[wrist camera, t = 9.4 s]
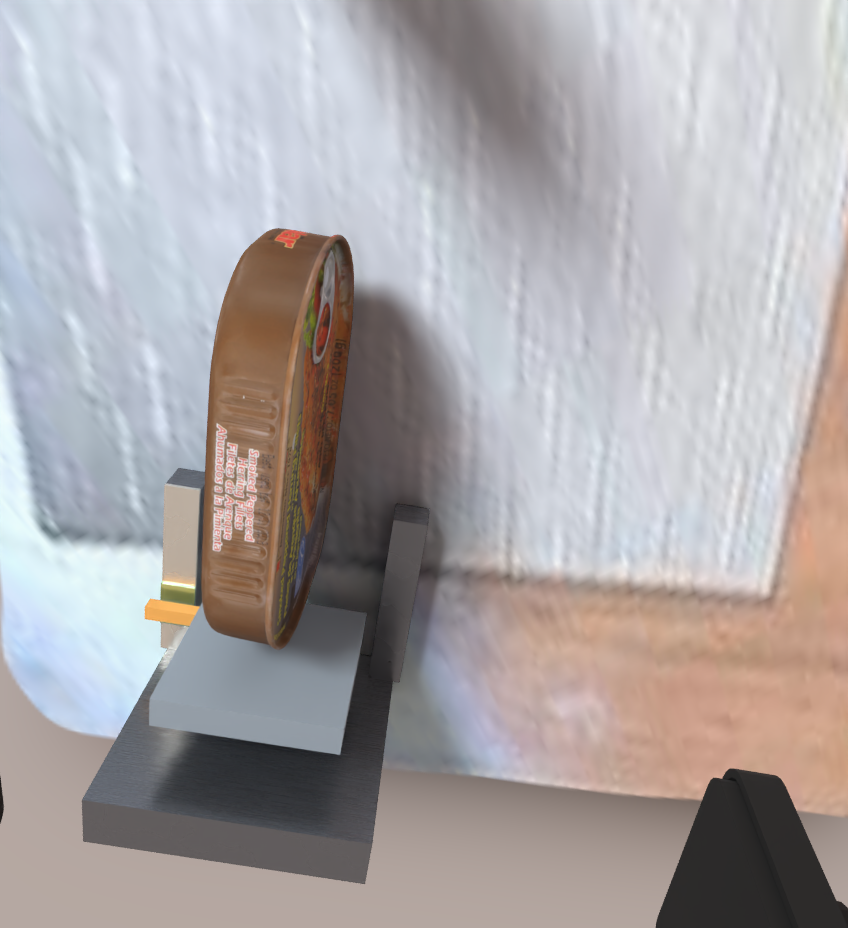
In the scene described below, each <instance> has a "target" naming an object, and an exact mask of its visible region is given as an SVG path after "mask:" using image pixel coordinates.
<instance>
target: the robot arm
mask: <svg viewBox="0 0 848 928" xmlns="http://www.w3.org/2000/svg"><path fill="white" fill-rule="evenodd" d="M3 808H4V805H3V796H2V787H1V778H0V822H1V819H2V816H3V810H4V809H3ZM656 928H848V908H847V907H846V906H845V905H844V904H843V903H842V902H839V901H836V899H835V897H834V895H833V893H832V890H831V888H830V886H829V883H828V881H827V879H826V877H825V874H824V872H823V870H822V868H821V865H820V863H819V861H818V859H817V856H816V854H815V852H814V850H813V848H812V845H811V843H810V841H809V839H808V836H807V834H806V832H805V829H804V827H803V825H802V823H801V820H800V818H799V816H798V814H797V811H796V809H795V807H794V805H793V802H792V800H791V798H790V796H789V793H788V791H787V789H786V787H785V785H784V783H783V782H782V780H781V779H780V778H779V777H777V776H775V775H769V774H763V773H757V772H751V771H745V770H739V769H729V770H728V771H726V773H725V775H724V776H723V778H722V779H720V778H713V779H712V780H710V782H709V784H708V787H707V789H706V792H705V795H704V797H703V800H702V802H701V806H700V808H699V810H698V813H697V815H696V818H695V821H694V823H693V826H692V829H691V831H690V834H689V836H688V839H687V842H686V845H685V847H684V850H683V852H682V855H681V858H680V860H679V863H678V866H677V868H676V871H675V873H674V876H673V879H672V881H671V884H670V886H669V889H668V892H667V894H666V897H665V899H664V902H663V905H662V907H661V910H660V913H659V915H658V919H657V922H656Z"/></svg>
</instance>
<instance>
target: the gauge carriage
mask: <svg viewBox="0 0 848 928" xmlns="http://www.w3.org/2000/svg"><path fill="white" fill-rule="evenodd" d="M366 615H367V613H364V612H358V611H352V610H345V609H339V608H333V607H326V606H320V605H314V604H308V603H306V604H305V607H304V610H303V612H302V615H301V618H300V620H299V622H298V625H297V627H296V629H295V631H294V634H293V635H292V637H291V638H290V641H289V642H288V644H287V645H286V646H285V647H284V648H282V649H280V650H277V649H274V648H272V647H271V646H270V645H267V644H262V643H258V642H253V641H248V640H243V639H238V638H234V637H230V636H226V635H223V634H220V633H218V632H216V631H214V630H213V629H212V628H211V627H210V625H209V624H208V622H207V620H206V617H205V614H204V610H203V604H201V606H200V607H199V606H193V605H186V604H180V603H174V602H168V601H161V600H155V599H150V600H149V602H148V603H147V605H146V606H145V619H148V620H155V621H161V622H167V623H174V624H180V625H186V626H189V627H188V629H187V631H186V633H185V635H184V637H183V638H182V640H181V642H180V644H179V646H178V648H177V649H176V651H175V653H174V655H173V657H172V659H171V660H170V662H169V664H168V666H167V668H166V670H165V671H164V673H163V675H162V677H161V679H160V681H159V682H158V684H157V686H156V688H155V690H154V692H153V693H152V695H151V697H150V702H149V725H150V726H156V727H163V728H169V729H176V730H182V731H189V732H195V733H202V734H208V735H214V736H221V737H227V738H234V739H240V740H247V741H253V742H260V743H266V744H272V745H279V746H285V747H292V748H298V749H305V750H311V751H318V752H324V753H331V754H337V755H340V753H341V748H342V743H343V738H344V733H345V727H346V722H347V717H348V712H349V707H350V702H351V697H352V691H353V686H354V681H355V676H356V671H357V666H358V661H359V656H360V650H361V645H362V640H363V635H364V628H365V622H366Z"/></svg>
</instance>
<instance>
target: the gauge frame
mask: <svg viewBox="0 0 848 928" xmlns="http://www.w3.org/2000/svg"><path fill="white" fill-rule="evenodd" d="M204 490H205V472H200V471H194V470H187V469H181V468H178V469H177V471H176V472H175V473H174V474H173V476H172V477H171V478H170V479H169V480H168V482H167V483H166V484H165V490H164V532H163V574H162V583H161V601H168V602H174V603H180V604H186V605H193V606H199V607H200V606H201V604H202V590H201V573H202V540H203V513H204ZM428 518H429V509H428V508H421V507H415V506H409V505H403V504H397V503H396V509H395V514H394V520H393V526H392V533H391V539H390V545H389V551H388V557H387V564H386V570H385V576H384V582H383V589H382V595H381V601H380V607H379V613H378V620H377V626H376V632H375V638H374V645H373V651H372V656H367V655H361V654H360V656H359V661H358V666H357V671H356V676H355V681H354V686H353V691H352V697H351V702H350V707H349V712H348V717H347V722H346V727H345V733H344V738H343V743H342V748H341V753H340V755H337V754H331V753H324V752H318V751H311V750H305V749H298V748H292V747H285V746H279V745H272V744H266V743H260V742H253V741H247V740H240V739H234V738H227V737H221V736H214V735H208V734H202V733H195V732H189V731H182V730H176V729H169V728H163V727H156V726H150V725H149V702H150V697H151V695H152V693H153V692H154V690H155V688H156V686H157V684H158V682H159V681H160V679H161V677H162V675H163V673H164V671H165V670H166V668H167V666H168V664H169V662H170V660H171V659H172V657H173V655H174V653H175V651H176V649H177V648H178V646H179V644H180V642H181V640H182V638H183V637H184V635H185V633H186V631H187V629H188V627H189V626H186V625H180V624H174V623H167V622H161V621H160V623H161V647H162V648H167V650H166V652H165V654H164V656H163V657H162V659H161V661H160V663H159V664H158V666H157V668H156V670H155V672H154V673H153V675H152V677H151V679H150V680H149V682H148V684H147V686H146V687H145V689H144V691H143V693H142V695H141V696H140V698H139V700H138V702H137V703H136V705H135V707H134V709H133V711H132V712H131V714H130V716H129V718H128V719H127V721H126V723H125V725H124V726H123V728H122V730H121V732H120V734H119V735H118V737H117V739H116V741H115V742H114V744H113V746H112V748H111V750H110V751H109V753H108V755H107V757H106V758H105V760H104V762H103V764H102V765H101V767H100V769H99V771H98V773H97V774H96V776H95V778H94V780H93V781H92V783H91V785H90V787H89V789H88V790H87V792H86V794H85V796H84V797H83V799H82V815H83V841H84V842H91V843H98V844H104V845H111V846H118V847H124V848H130V849H137V850H144V851H150V852H157V853H163V854H170V855H177V856H184V857H190V858H197V859H203V860H209V861H216V862H223V863H229V864H236V865H243V866H249V867H256V868H262V869H269V870H276V871H282V872H289V873H295V874H303V875H309V876H316V877H322V878H328V879H335V880H341V881H348V882H355V883H361V884H365V880H366V875H367V870H368V864H369V858H370V853H371V848H372V842H373V834H374V833H373V832H374V825H375V818H376V810H377V802H378V794H379V786H380V778H381V770H382V762H383V754H384V746H385V738H386V730H387V722H388V715H389V707H390V699H391V691H392V683H393V681H394V682H400V676H401V671H402V665H403V660H404V654H405V649H406V643H407V638H408V632H409V627H410V621H411V616H412V610H413V605H414V599H415V594H416V588H417V583H418V577H419V572H420V566H421V561H422V555H423V550H424V544H425V539H426V533H427V528H428Z"/></svg>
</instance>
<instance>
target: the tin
mask: <svg viewBox="0 0 848 928" xmlns="http://www.w3.org/2000/svg"><path fill="white" fill-rule="evenodd" d="M353 295H354V271H353V262H352V255H351V251H350V247H349V244H348V242H347V241H346V239H345V238H344V237H343V236H341V235H334V236H332V237H329V236H323V235H317V234H312V233H306V232H301V231H296V230H288V229H280V228H277V229H272V230H270V231H267V232H266V233H265V234H263V235H262V236H261V237H260V238H258V239H257V240H256V241H255V242H254V243H253V244H251V245H250V246H249V247H248V249H247V250H246V251H245V252H244V253H243V255H242V256H241V258H240V260H239V262H238V264H237V266H236V268H235V270H234V272H233V275H232V277H231V280H230V283H229V286H228V288H227V291H226V294H225V297H224V301H223V304H222V308H221V312H220V316H219V320H218V325H217V330H216V336H215V342H214V348H213V355H212V362H211V371H210V385H209V403H208V421H207V440H206V466H205V490H204V513H203V540H202V573H201V590H202V604H203V610H204V614H205V617H206V620H207V622H208V624H209V625H210V627H211V628H212V629H213V630H214V631H216V632H218V633H220V634H223V635H226V636H230V637H234V638H238V639H243V640H248V641H253V642H258V643H262V644H267V645H270V646H271V647H272V648H274V649H277V650H280V649H282V648H284V647H285V646H286V645H287V644H288V642H289V641H290V638H291V637H292V635H293V634H294V631H295V629H296V627H297V625H298V622H299V620H300V618H301V615H302V612H303V610H304V607H305V604H306V601H307V598H308V594H309V591H310V587H311V584H312V581H313V578H314V574H315V571H316V568H317V564H318V561H319V557H320V553H321V549H322V545H323V540H324V535H325V530H326V525H327V519H328V513H329V505H330V500H331V493H332V485H333V477H334V469H335V461H336V451H337V444H338V434H339V427H340V418H341V410H342V402H343V393H344V386H345V378H346V370H347V361H348V352H349V344H350V336H351V327H352V315H353Z"/></svg>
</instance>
